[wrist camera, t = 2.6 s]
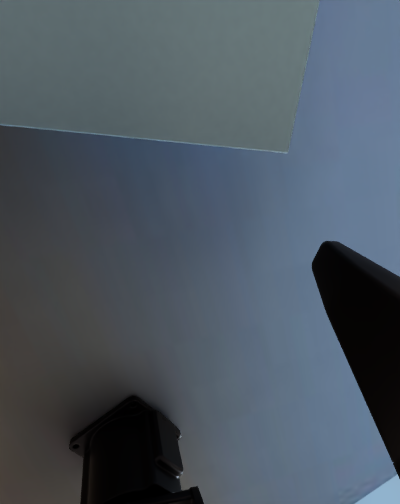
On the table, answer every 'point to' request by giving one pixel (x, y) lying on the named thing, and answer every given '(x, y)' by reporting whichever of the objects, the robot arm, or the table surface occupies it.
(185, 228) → the table surface
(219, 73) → the compartment lid
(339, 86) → the table surface
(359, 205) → the table surface
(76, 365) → the table surface
